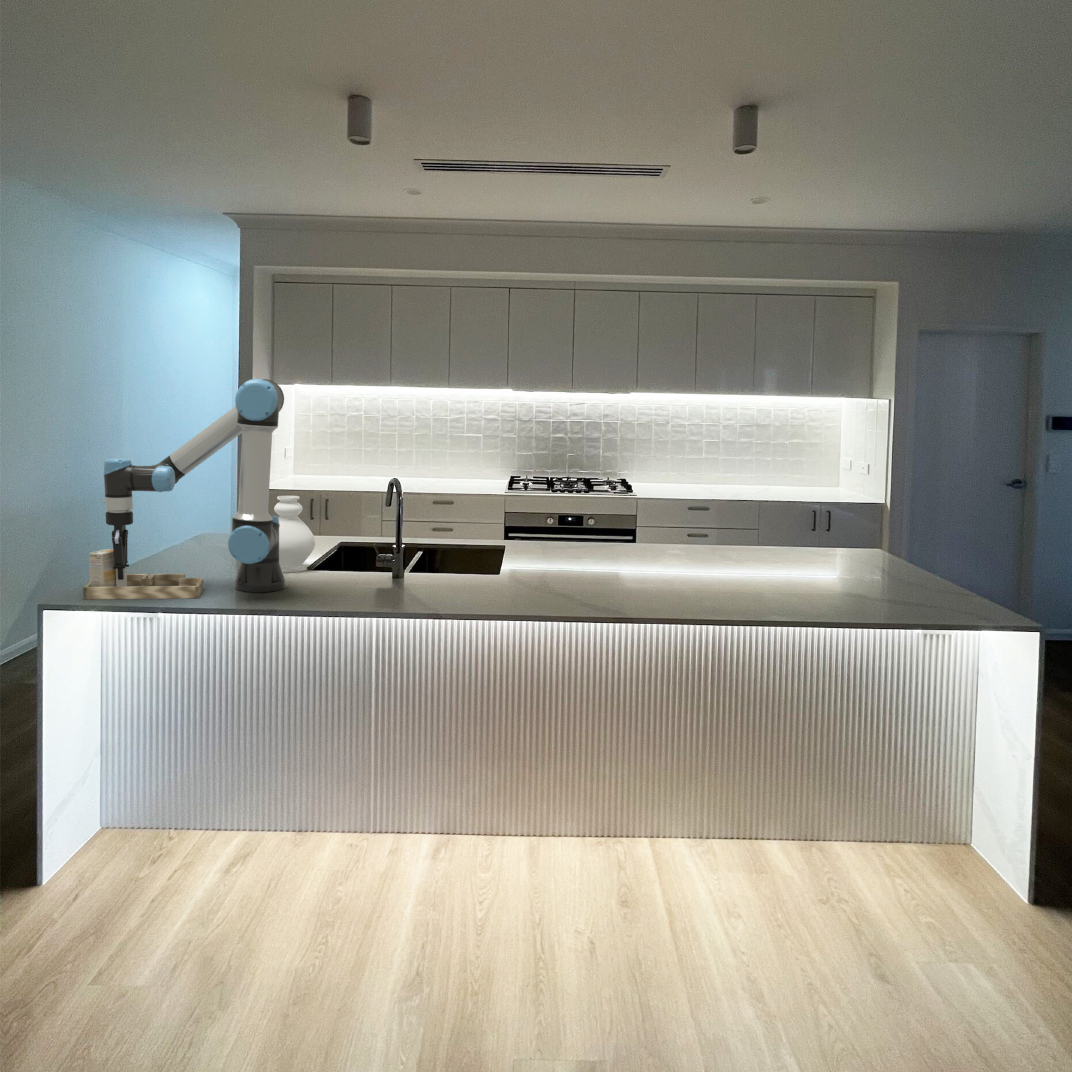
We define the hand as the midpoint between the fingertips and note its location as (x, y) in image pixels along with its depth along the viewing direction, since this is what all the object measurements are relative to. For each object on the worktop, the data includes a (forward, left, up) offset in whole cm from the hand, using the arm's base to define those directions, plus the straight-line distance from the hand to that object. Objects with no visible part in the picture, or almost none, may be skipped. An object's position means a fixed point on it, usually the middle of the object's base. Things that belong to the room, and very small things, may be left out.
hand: (122, 589), depth 320 cm
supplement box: (+5, 0, -2) cm, 5 cm away
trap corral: (-7, -3, -1) cm, 8 cm away
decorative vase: (-48, -41, -2) cm, 63 cm away
